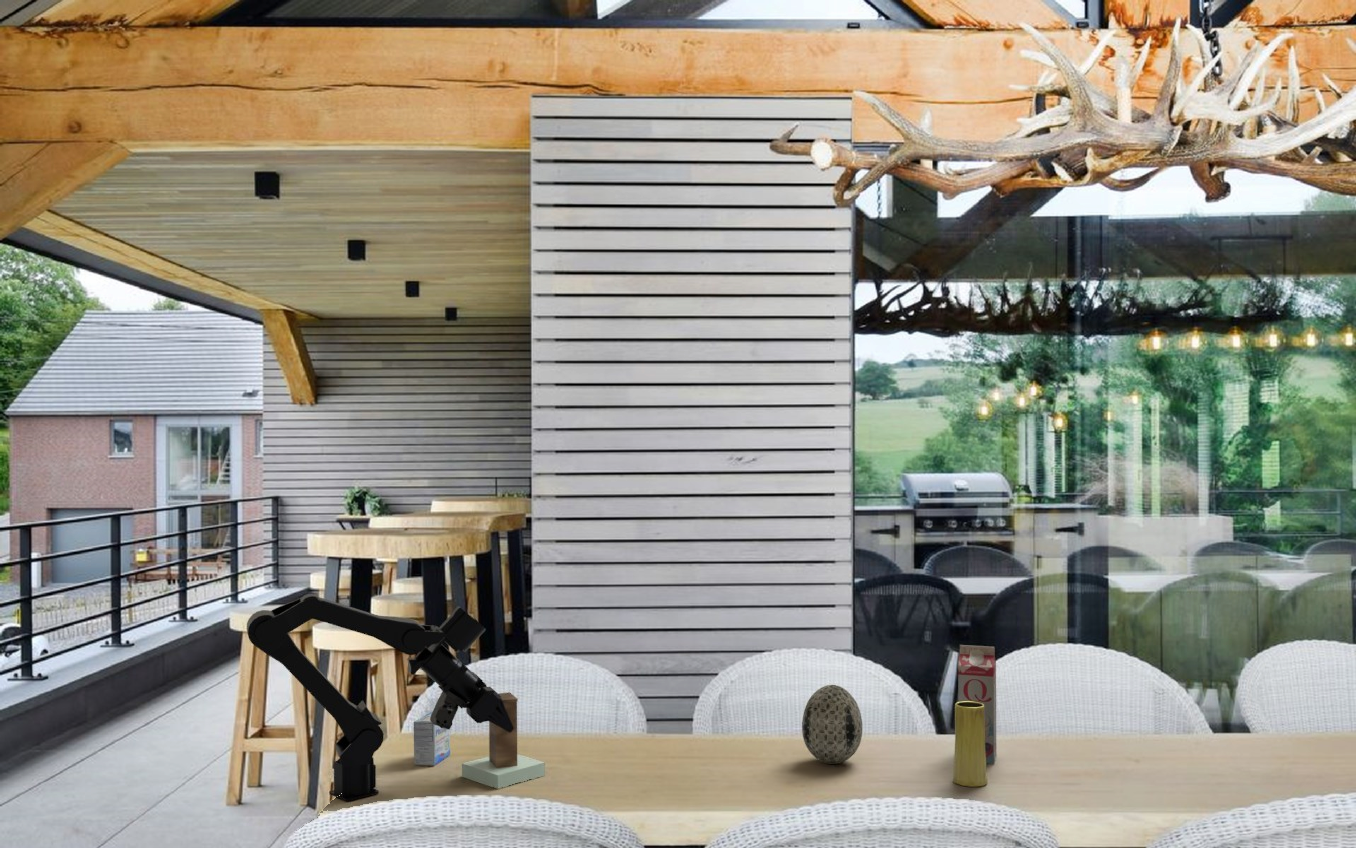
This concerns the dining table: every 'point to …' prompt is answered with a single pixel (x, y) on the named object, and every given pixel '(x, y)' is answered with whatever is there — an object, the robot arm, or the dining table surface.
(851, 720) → the decorative egg
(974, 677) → the juice carton
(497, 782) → the plate
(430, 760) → the medicine box
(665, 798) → the dining table surface
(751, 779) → the dining table surface
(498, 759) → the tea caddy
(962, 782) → the vase
